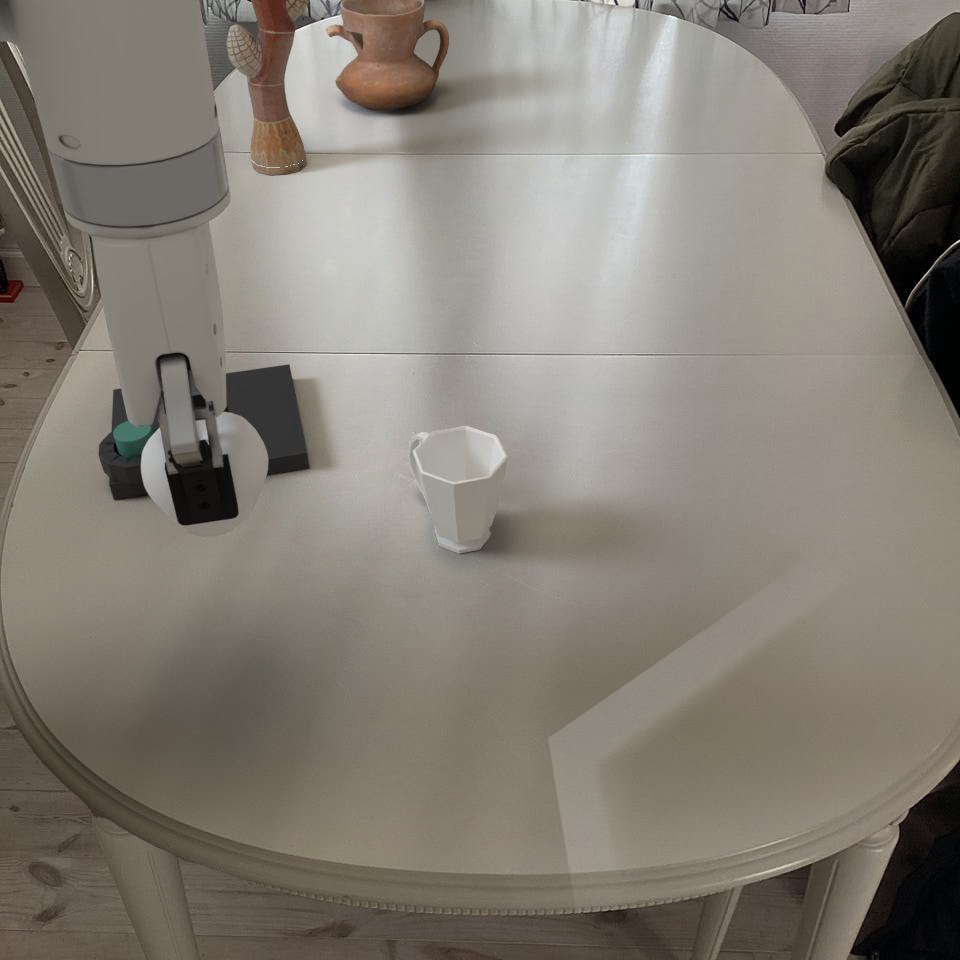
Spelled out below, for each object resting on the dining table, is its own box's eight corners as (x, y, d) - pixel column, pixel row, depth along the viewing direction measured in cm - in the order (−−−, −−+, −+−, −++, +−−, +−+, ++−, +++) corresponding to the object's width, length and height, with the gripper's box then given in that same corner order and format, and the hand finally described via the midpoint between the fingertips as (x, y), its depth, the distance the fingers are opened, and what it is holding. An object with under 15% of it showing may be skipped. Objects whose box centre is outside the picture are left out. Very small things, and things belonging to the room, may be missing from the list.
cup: (453, 579, 76) (450, 497, 70) (378, 510, 82) (370, 430, 77) (526, 538, 79) (527, 457, 74) (448, 475, 85) (445, 396, 80)
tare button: (117, 461, 82) (112, 443, 81) (118, 439, 84) (113, 422, 83) (155, 455, 82) (151, 437, 81) (155, 433, 85) (151, 416, 84)
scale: (108, 504, 83) (97, 471, 80) (112, 405, 93) (103, 373, 91) (310, 471, 86) (305, 438, 83) (291, 379, 96) (286, 347, 94)
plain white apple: (144, 559, 57) (112, 446, 52) (165, 479, 62) (138, 369, 57) (270, 553, 57) (251, 440, 52) (280, 474, 63) (264, 365, 58)
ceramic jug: (335, 122, 148) (324, 18, 139) (331, 88, 159) (321, -9, 150) (457, 114, 150) (455, 11, 141) (445, 81, 161) (442, -16, 152)
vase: (244, 176, 133) (201, -81, 114) (252, 154, 139) (213, -94, 120) (324, 174, 134) (295, -82, 114) (329, 152, 139) (302, -95, 120)
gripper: (70, 114, 52) (141, 397, 64) (39, 270, 39) (135, 591, 51) (218, 103, 54) (262, 382, 65) (236, 250, 41) (287, 567, 52)
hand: (206, 472), depth 58 cm, fingers closed on plain white apple, 7 cm apart
